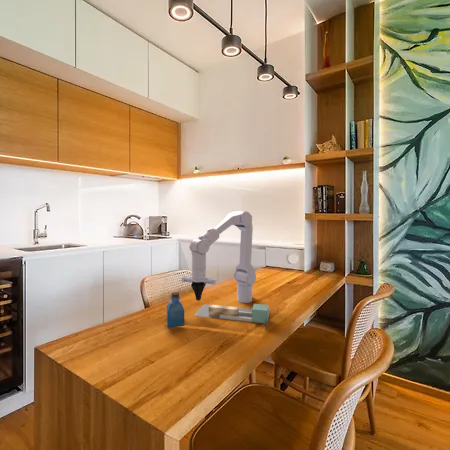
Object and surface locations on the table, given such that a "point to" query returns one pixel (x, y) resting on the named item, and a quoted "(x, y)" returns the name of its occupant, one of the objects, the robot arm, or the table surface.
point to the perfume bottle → (175, 311)
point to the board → (241, 314)
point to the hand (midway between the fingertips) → (198, 299)
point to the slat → (223, 310)
